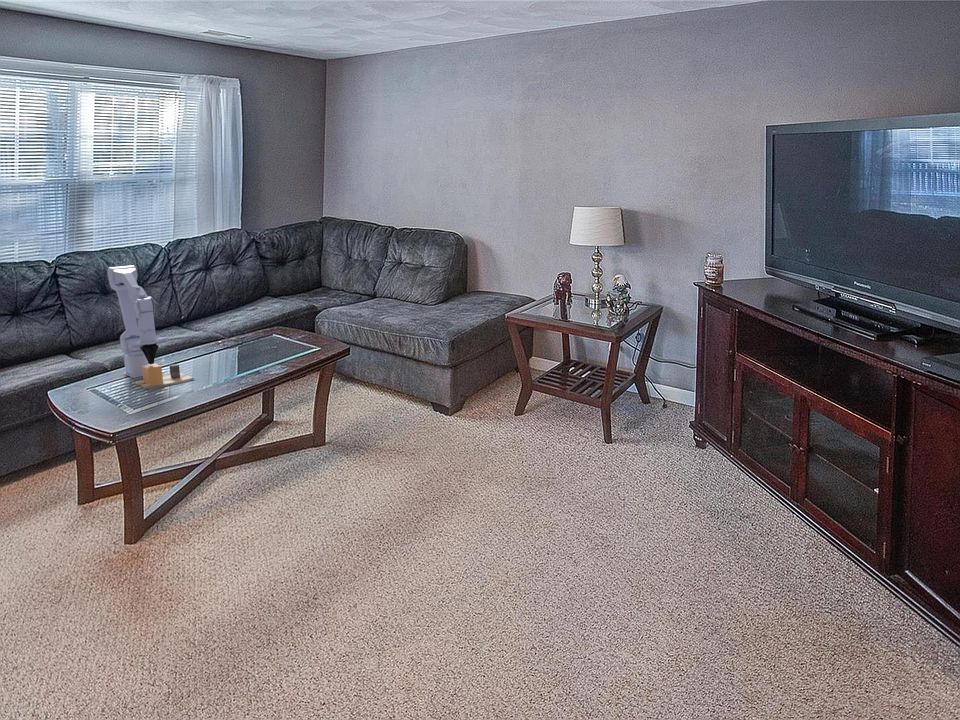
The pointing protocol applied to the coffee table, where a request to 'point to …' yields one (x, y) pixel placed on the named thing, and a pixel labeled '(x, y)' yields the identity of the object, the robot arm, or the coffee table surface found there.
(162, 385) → the post board
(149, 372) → the orange rectangular block
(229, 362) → the coffee table surface
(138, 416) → the coffee table surface
